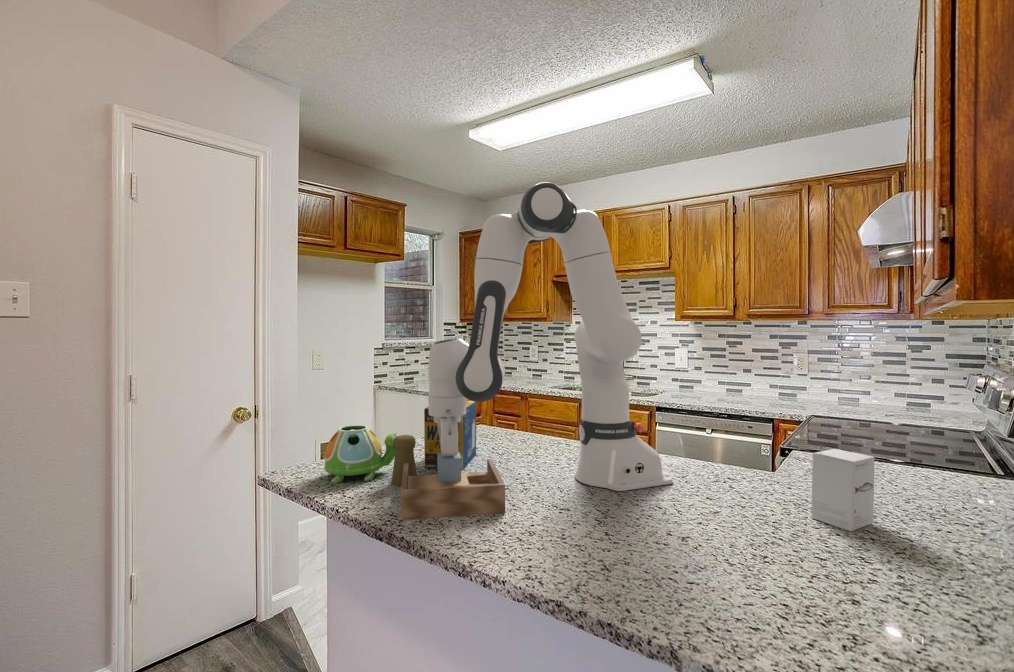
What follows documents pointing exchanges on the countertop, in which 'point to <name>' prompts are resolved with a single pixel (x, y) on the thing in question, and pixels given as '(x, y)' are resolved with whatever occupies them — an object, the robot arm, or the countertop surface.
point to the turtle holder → (357, 453)
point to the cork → (403, 457)
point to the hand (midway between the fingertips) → (447, 465)
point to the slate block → (449, 468)
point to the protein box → (464, 434)
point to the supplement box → (843, 488)
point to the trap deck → (452, 494)
